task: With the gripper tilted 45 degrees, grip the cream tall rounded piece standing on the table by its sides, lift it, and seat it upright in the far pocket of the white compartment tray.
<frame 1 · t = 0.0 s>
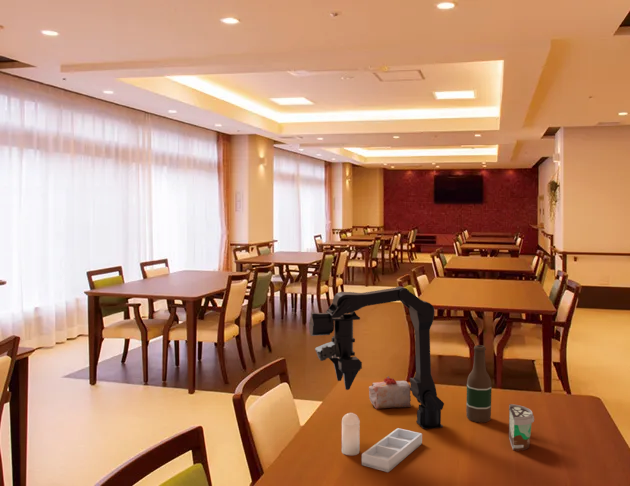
hand: (343, 385, 176), 15 cm above the table, tool pointing down, fingers open, 9 cm apart
beer bottle: (478, 419, 189), on the table
food container: (522, 445, 168), on the table
food item: (389, 406, 202), on the table
white compartment tray: (393, 453, 162), on the table
cream tall rounded piece: (350, 451, 163), on the table
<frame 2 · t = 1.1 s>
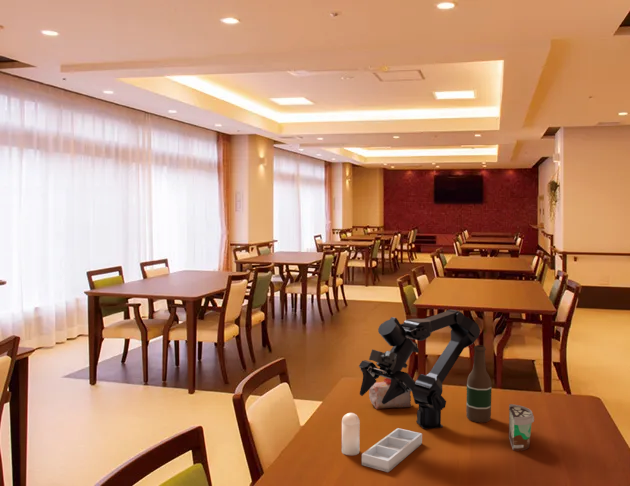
hand: (371, 399, 167), 13 cm above the table, tool tilted 45°, fingers open, 9 cm apart
nothing on the table moved.
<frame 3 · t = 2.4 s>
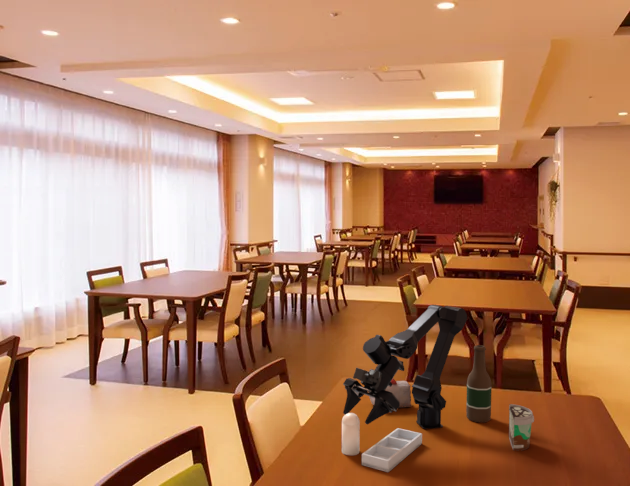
hand: (354, 418, 164), 9 cm above the table, tool tilted 45°, fingers open, 9 cm apart
nothing on the table moved.
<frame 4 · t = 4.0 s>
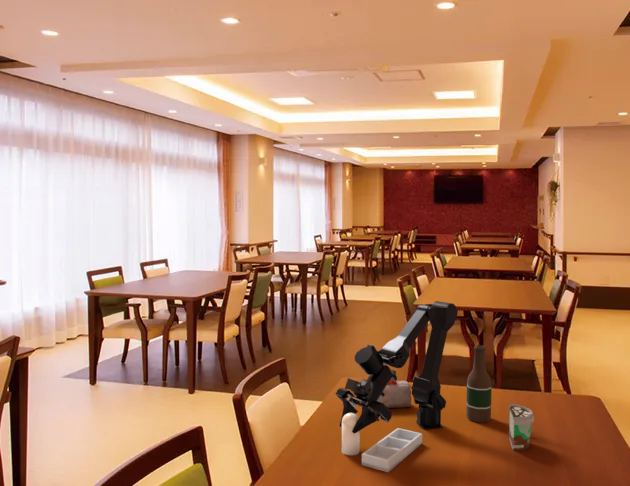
hand: (346, 429, 162), 7 cm above the table, tool tilted 45°, fingers closed on cream tall rounded piece, 5 cm apart
cream tall rounded piece: (350, 451, 163), on the table, touching gripper
everything else where it was.
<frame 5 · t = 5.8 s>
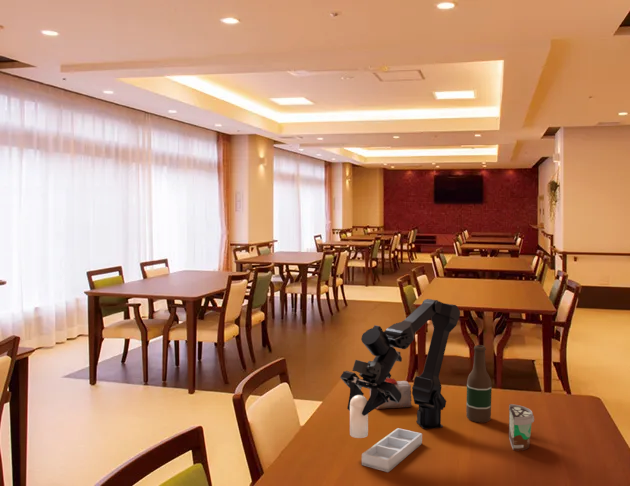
hand: (355, 412, 159), 12 cm above the table, tool tilted 45°, fingers closed on cream tall rounded piece, 5 cm apart
cream tall rounded piece: (358, 434, 160), point 6 cm above the table, touching gripper
everything else where it was.
when the fingers open (9 cm above the table, at t = 7.7 s): cream tall rounded piece drops 1 cm, resting on white compartment tray.
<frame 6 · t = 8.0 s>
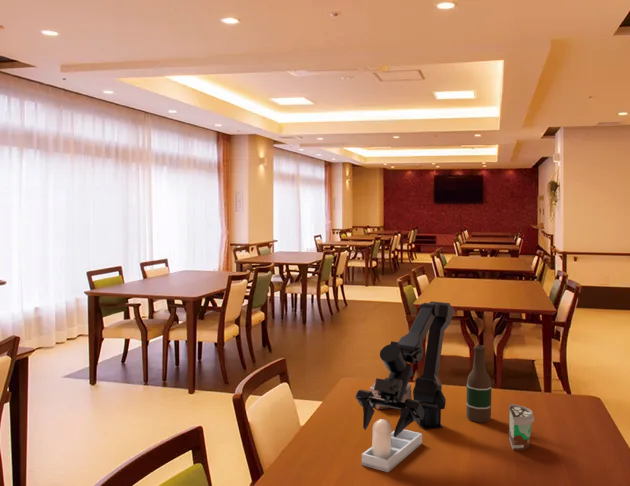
hand: (379, 432, 154), 9 cm above the table, tool tilted 45°, fingers open, 9 cm apart
cream tall rounded piece: (381, 460, 156), point 1 cm above the table, touching white compartment tray
everything else where it was.
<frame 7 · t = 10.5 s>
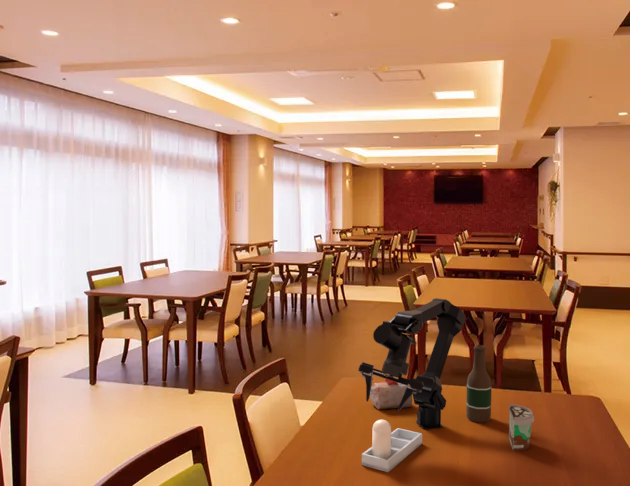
hand: (382, 406, 165), 12 cm above the table, tool tilted 25°, fingers open, 9 cm apart
nothing on the table moved.
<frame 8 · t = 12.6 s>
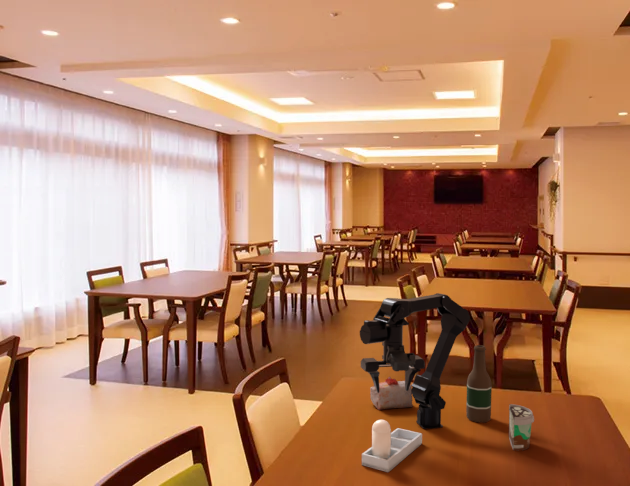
hand: (392, 391, 176), 13 cm above the table, tool pointing down, fingers open, 9 cm apart
nothing on the table moved.
at the end: cream tall rounded piece 0.0 cm from the target spot on the white compartment tray, point 0.8 cm above the white compartment tray's base; cream tall rounded piece tilted 1°; the gripper is holding nothing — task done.
